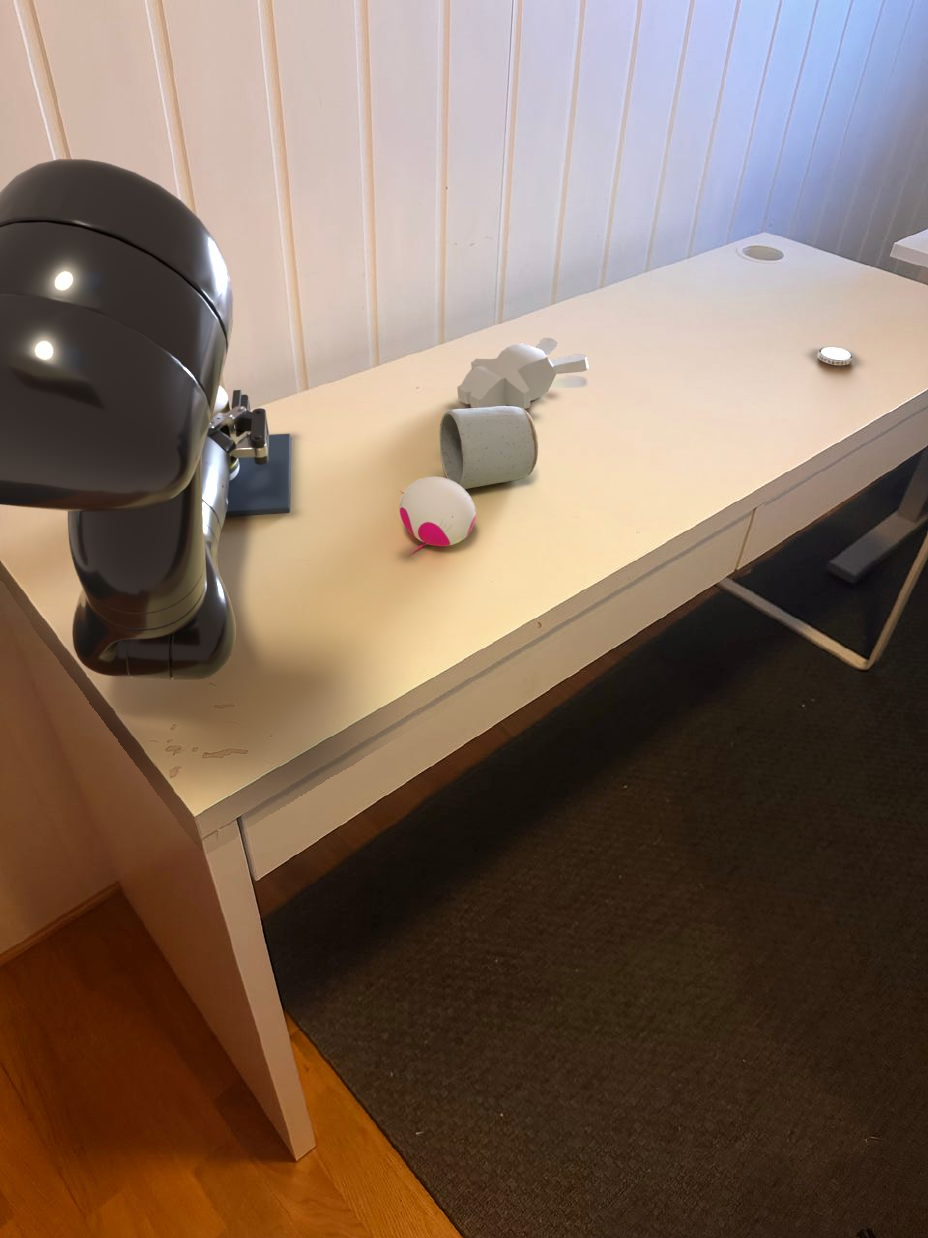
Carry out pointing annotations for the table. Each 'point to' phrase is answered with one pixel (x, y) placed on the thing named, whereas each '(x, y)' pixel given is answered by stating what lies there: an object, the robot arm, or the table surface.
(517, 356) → the bunny figurine
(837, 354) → the white bottle cap
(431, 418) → the table surface
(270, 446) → the mat
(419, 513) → the stress ball
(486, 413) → the ceramic mug
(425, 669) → the table surface
